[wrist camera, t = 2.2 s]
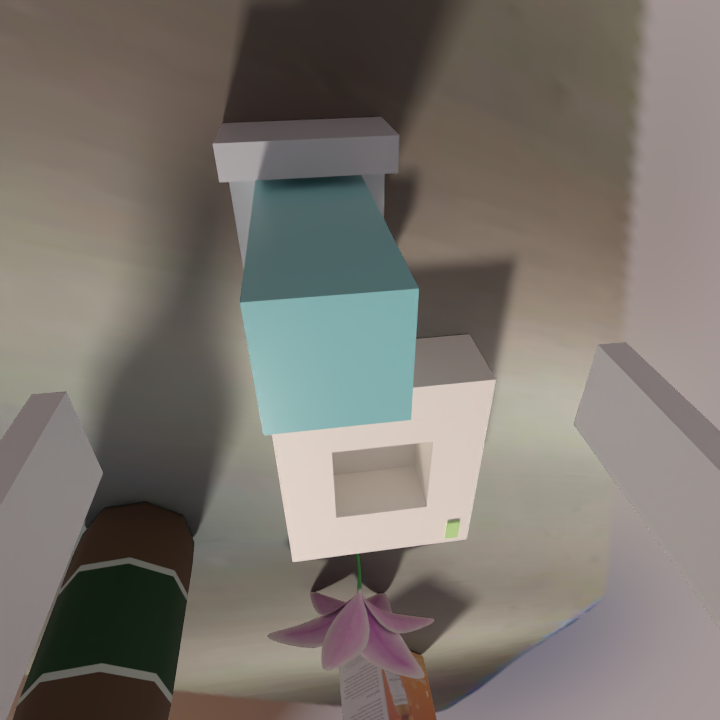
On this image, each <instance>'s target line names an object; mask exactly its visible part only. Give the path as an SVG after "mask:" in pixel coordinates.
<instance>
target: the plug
mask: <svg viewBox="0 0 720 720" xmlns="http://www.w3.org/2000/svg"><path fill="white" fill-rule="evenodd" d="M418 298H419V287H418V286H417V284H416V282H415V280H414V278H413V276H412V274H411V272H410V270H409V268H408V266H407V264H406V262H405V260H404V258H403V256H402V254H401V252H400V250H399V248H398V246H397V244H396V242H395V240H394V238H393V236H392V234H391V232H390V230H389V228H388V226H387V224H386V222H385V220H384V218H383V216H382V214H381V212H380V211H379V209H378V207H377V205H376V203H375V201H374V199H373V197H372V195H371V193H370V191H369V189H368V187H367V185H366V183H365V181H364V179H363V177H362V175H351V176H332V177H313V178H294V179H275V180H256V181H255V187H254V195H253V203H252V211H251V219H250V227H249V234H248V242H247V250H246V258H245V266H244V274H243V282H242V289H241V297H240V306H241V312H242V318H243V323H244V329H245V335H246V340H247V346H248V352H249V357H250V363H251V368H252V374H253V380H254V385H255V391H256V397H257V402H258V408H259V414H260V419H261V425H262V431H263V435H271V434H281V433H290V432H300V431H309V430H319V429H329V428H338V427H348V426H357V425H367V424H376V423H386V422H395V421H405V420H411V412H412V396H413V380H414V363H415V347H416V331H417V315H418Z"/></svg>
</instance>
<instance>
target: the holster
mask: <svg viewBox="0 0 720 720" xmlns="http://www.w3.org/2000/svg"><path fill="white" fill-rule="evenodd" d="M213 149H214V155H215V161H216V166H217V172H218V178H219V182H229V185H230V191H231V197H232V203H233V209H234V215H235V221H236V227H237V234H238V240H239V246H240V252H241V258H242V264H243V270H244V266H245V258H246V250H247V242H248V234H249V227H250V219H251V211H252V203H253V195H254V187H255V181H256V180H275V179H294V178H313V177H332V176H351V175H362V177H363V179H364V181H365V183H366V185H367V187H368V189H369V191H370V193H371V195H372V197H373V199H374V201H375V203H376V205H377V207H378V209H379V211H380V212H381V214H382V216H383V218H384V180H385V174H389V173H398V159H399V135H398V133H397V132H396V131H395V130H394V129H393V128H392V127H391V126H390V125H389V124H388V123H387V122H386V121H385V120H384V119H383V118H382V117H363V118H339V119H314V120H290V121H265V122H240V123H222V125H221V127H220V129H219V131H218V133H217V135H216V137H215V139H214V141H213Z"/></svg>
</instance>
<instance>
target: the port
mask: <svg viewBox="0 0 720 720" xmlns="http://www.w3.org/2000/svg"><path fill="white" fill-rule="evenodd" d="M495 383H496V378H495V377H494V375H493V373H492V372H491V370H490V368H489V367H488V365H487V363H486V362H485V360H484V358H483V356H482V355H481V353H480V351H479V350H478V348H477V346H476V345H475V343H474V341H473V340H472V338H471V336H470V334H466V335H455V336H443V337H432V338H420V339H416V347H415V363H414V380H413V396H412V412H411V420H405V421H395V422H386V423H376V424H367V425H357V426H348V427H338V428H329V429H319V430H309V431H300V432H290V433H281V434H272V438H273V444H274V450H275V456H276V462H277V468H278V474H279V481H280V487H281V493H282V499H283V505H284V511H285V518H286V524H287V530H288V536H289V542H290V548H291V555H292V561H293V562H297V561H305V560H313V559H320V558H328V557H335V556H343V555H351V554H358V553H366V552H374V551H381V550H389V549H396V548H404V547H412V546H419V545H427V544H434V543H442V542H450V541H457V540H465V539H467V535H468V529H469V524H470V519H471V513H472V508H473V502H474V497H475V491H476V486H477V481H478V475H479V470H480V464H481V459H482V453H483V448H484V443H485V437H486V432H487V426H488V421H489V415H490V410H491V405H492V399H493V394H494V388H495Z"/></svg>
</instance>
